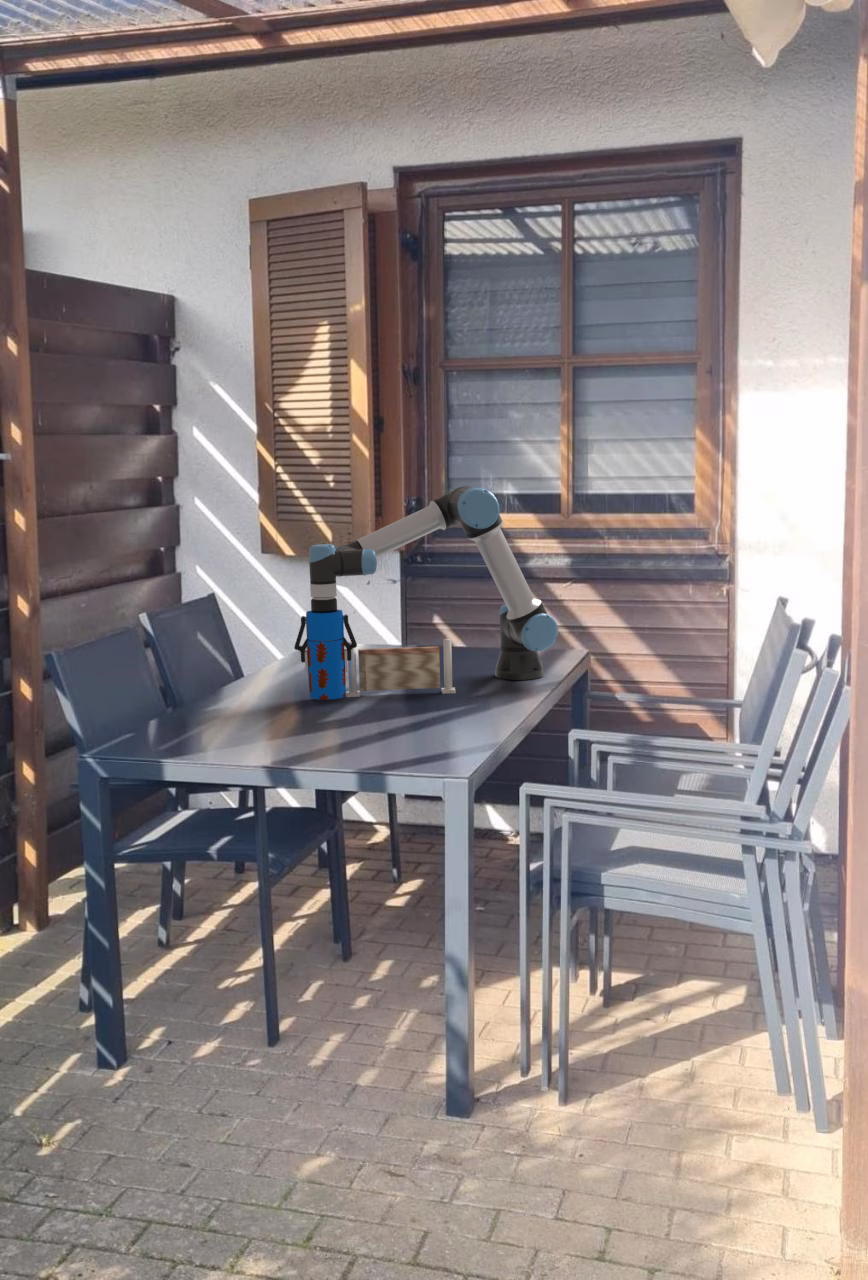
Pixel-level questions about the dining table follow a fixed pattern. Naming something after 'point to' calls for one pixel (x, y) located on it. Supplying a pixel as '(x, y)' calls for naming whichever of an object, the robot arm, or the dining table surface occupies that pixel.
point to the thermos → (326, 655)
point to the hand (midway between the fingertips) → (326, 672)
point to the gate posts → (447, 671)
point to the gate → (399, 668)
